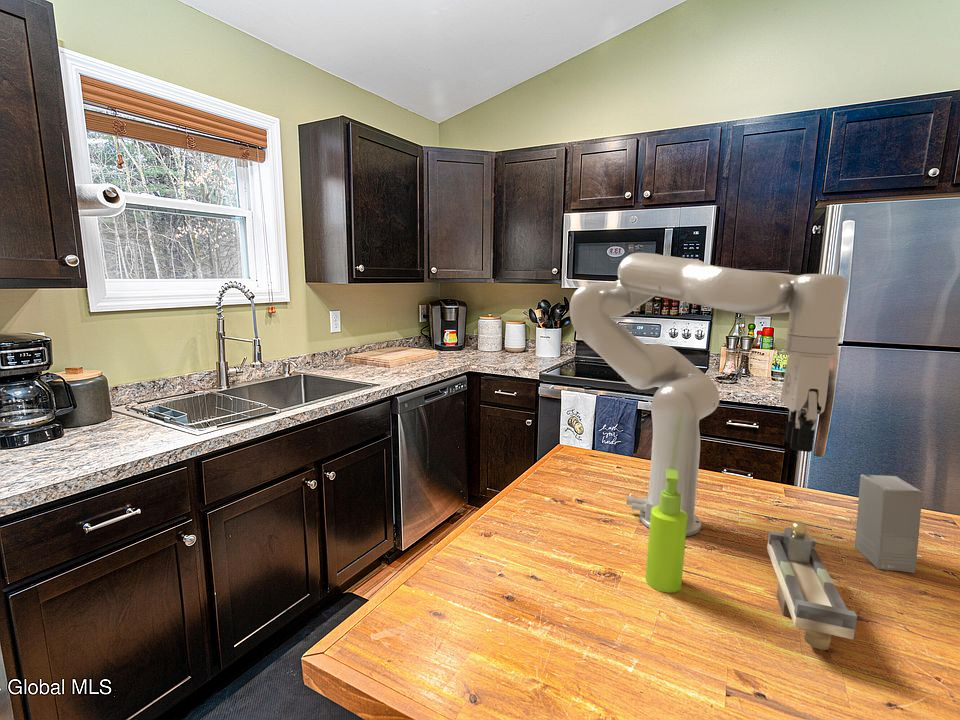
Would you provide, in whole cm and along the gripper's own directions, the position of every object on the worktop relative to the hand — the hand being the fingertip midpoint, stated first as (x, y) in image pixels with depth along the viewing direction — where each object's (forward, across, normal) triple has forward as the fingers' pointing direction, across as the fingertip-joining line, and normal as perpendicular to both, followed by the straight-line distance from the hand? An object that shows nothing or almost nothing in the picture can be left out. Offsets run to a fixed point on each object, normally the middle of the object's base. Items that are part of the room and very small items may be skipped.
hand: (798, 445), depth 89 cm
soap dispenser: (+23, +14, -21) cm, 34 cm away
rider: (+18, +7, 0) cm, 19 cm away
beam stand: (+23, +14, 0) cm, 27 cm away
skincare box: (+23, -9, +18) cm, 31 cm away
